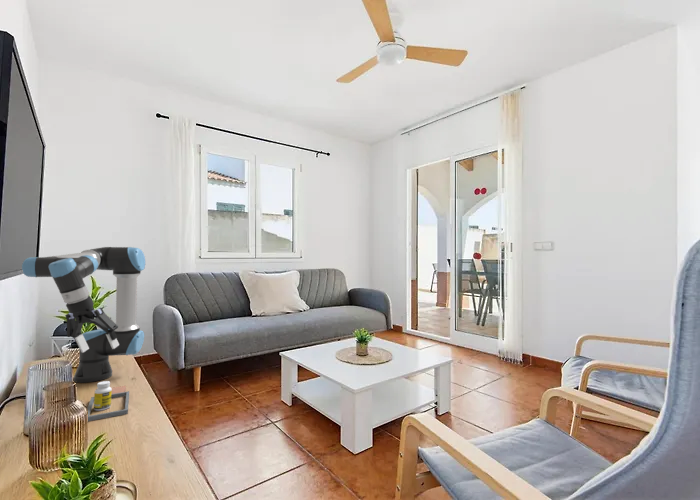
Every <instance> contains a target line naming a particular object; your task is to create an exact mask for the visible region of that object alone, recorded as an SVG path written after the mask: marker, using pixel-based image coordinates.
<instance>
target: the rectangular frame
mask: <svg viewBox="0 0 700 500" xmlns="http://www.w3.org/2000/svg"><path fill="white" fill-rule="evenodd" d="M123 397H125V403H124V404H125V406H124V409H118V410H113V411H109V412H104V413H97V414H92V415H91V411H92V409H93V407H94V396H91V398H90V400H89V403H88V406H87V409H88V421H87V422H91V421H92V422H93V421H96V420H102V419H107V418H108V419H109V418H112V417H113V418H114V417H118V416H122V415H123V416H124V415H128V414H129V405H130V404H129V402H130V390H129V391H125V392H121V393H115V394H111V399H116V398H123ZM87 409H86V410H87Z"/></svg>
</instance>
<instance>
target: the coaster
mask: <svg viewBox="0 0 700 500" xmlns="http://www.w3.org/2000/svg"><path fill="white" fill-rule="evenodd" d="M111 388H112V393H111V394H115V393H121V392H127V391H126V389H127V386H126V385H122V386H115V387H113V386H112V387H111Z"/></svg>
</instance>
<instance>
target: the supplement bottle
mask: <svg viewBox="0 0 700 500" xmlns="http://www.w3.org/2000/svg"><path fill="white" fill-rule="evenodd" d="M110 385H111V382H110V381H109V380H104V381H103V380H102V381H100V382H99V381H98V383H97V385H96V386H97V388H96V389H95V390H94V395H93V397H94V403H93V410H94V411H97V412H99V411H105V410H107V409H109V408H111V406H112V398H111V393H112V388H113V387H111V386H110Z"/></svg>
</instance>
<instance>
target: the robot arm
mask: <svg viewBox="0 0 700 500" xmlns="http://www.w3.org/2000/svg"><path fill="white" fill-rule="evenodd" d="M145 257H146V256H145V254H144V252H143V250H142V249H141V248H139V247H134V246H133V247H132V246H127V247H126V246H118V247H117V246H103V247H95V248H91V249H85V250H83V251H81V252H77V253H69V254H67V253H66V254H61V255H53V256H51V255H50V256H43V257H42V256H41V257H38V256H35V257H27V258H26V259H24V261H22V265H21V271H22V270H23V272H22V273H23V275H24V276H26V277H27V278H28V277H29V278H52V279H53V281H54V283H55V285H56V287H57V289H58V291H59V293H60V295H61V299H62V300H63V302H64V303H65V306H66V309H67V310H68V313H67V314H64V315H65V319H66V336H67V337H68V338H73V340H74V341H75V343H76V344H77V347H78V348H79V358H78V359H79V362H78V363H79V364H78V366H77V367H76V369H75V370H76V371H75V372H74V375H73V382H74V381H75V383H78V382H80V383H81V384H82V383H83V384H84V383H93V382H99V381H103V380H105V379H106V380H107V379H109V378H111V377H112V376H113V369H112V366H111V362H110V360H109V356H111V357H112V356H131V355H137V354H138V353H139V352H140V351H141V349H142V347H143V344H144V341H145V332H144V331H143V330H141V327H140V325H138V323H137V308H138V307H137V305H138V303H137V299H138V298H137V296H138V293H137V292H138V291H137V289H138V276H140V275H141V272H142V271H143V270H144V269H145V268H146V258H145ZM96 271H112V275H113V276H114V277H115V279H116V293H115V294H116V299H115V300H116V301H115V302H116V303H115V307H116V309H115V322H114V321H113V320H112V319H111V318H110V317H109V316H108V315H107V314H106V313H105V311H104V310H103V308H102V307H98V308H97V309H94V302H93V299H92V296H90V292H89V289H87V286H86V284H85V282H84V280H83V279H85V278H86V277H88V276H90V275H92V274H93V273H95V272H96ZM87 323H90V324H93V325H95V326H97V327H98V328H100V329H94V330H89V331H85V332H84V333H82V330H83V325H84V324H87ZM76 381H77V382H76Z"/></svg>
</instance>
